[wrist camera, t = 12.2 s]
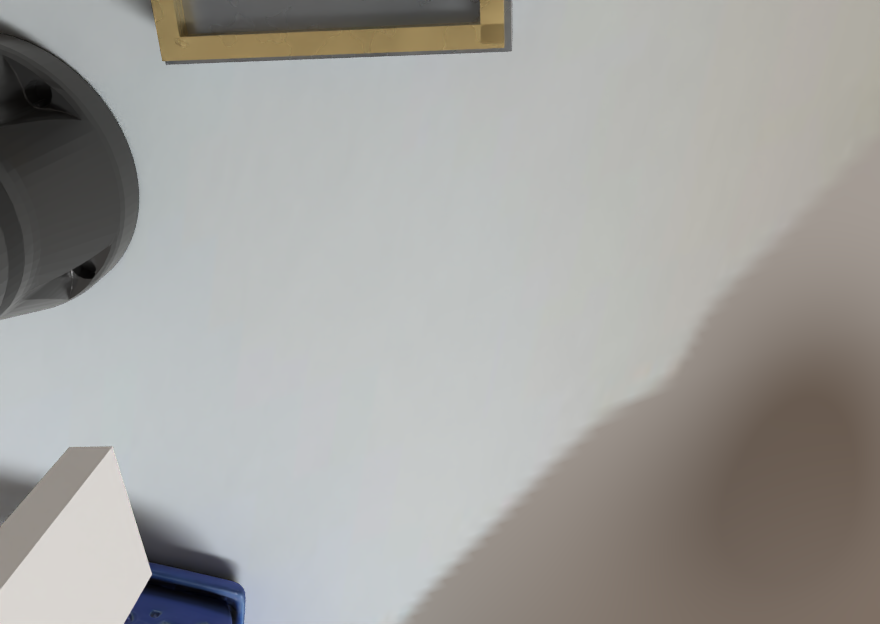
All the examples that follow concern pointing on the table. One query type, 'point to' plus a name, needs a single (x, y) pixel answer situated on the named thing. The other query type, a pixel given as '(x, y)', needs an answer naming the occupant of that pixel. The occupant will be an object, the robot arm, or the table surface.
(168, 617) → the flower pot
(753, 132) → the table surface
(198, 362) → the table surface
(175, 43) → the grey flat box
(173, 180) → the table surface
